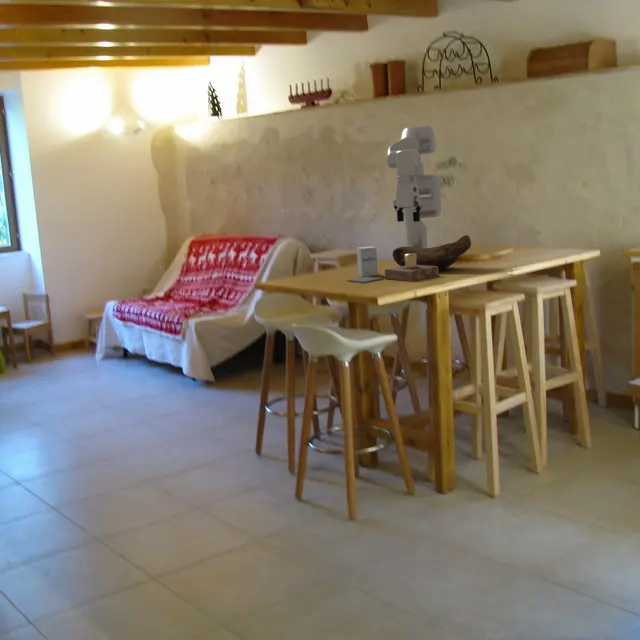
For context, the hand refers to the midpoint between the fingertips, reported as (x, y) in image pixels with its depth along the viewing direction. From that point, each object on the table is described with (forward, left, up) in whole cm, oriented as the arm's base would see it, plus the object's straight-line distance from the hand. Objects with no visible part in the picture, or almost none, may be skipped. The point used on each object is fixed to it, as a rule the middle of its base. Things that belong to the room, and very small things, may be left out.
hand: (408, 221), depth 346 cm
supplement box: (+4, -24, -24) cm, 34 cm away
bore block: (0, 0, -24) cm, 24 cm away
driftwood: (-20, -8, -24) cm, 32 cm away
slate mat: (+15, -13, -24) cm, 31 cm away
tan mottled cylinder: (0, 0, -24) cm, 24 cm away
